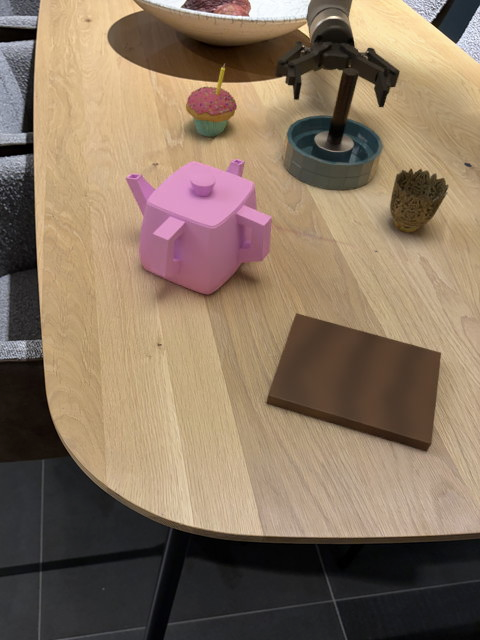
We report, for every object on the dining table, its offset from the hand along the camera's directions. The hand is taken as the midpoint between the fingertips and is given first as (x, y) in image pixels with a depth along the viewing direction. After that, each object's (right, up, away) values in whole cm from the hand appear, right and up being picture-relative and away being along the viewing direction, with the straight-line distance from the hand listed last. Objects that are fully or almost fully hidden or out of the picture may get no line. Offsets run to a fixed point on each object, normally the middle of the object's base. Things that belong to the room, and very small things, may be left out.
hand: (340, 95), depth 95 cm
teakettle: (-23, -27, -10) cm, 37 cm away
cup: (+9, -22, -4) cm, 24 cm away
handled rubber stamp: (-1, -9, +5) cm, 10 cm away
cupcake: (-21, -1, +12) cm, 24 cm away
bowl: (-1, -9, +6) cm, 11 cm away
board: (-4, -45, -24) cm, 51 cm away
